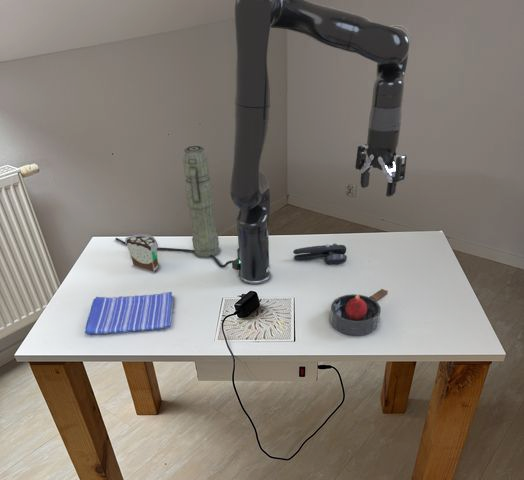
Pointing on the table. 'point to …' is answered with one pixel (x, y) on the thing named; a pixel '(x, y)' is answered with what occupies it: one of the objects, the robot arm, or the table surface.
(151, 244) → the cake slice
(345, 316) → the pan
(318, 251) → the can opener
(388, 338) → the table surface
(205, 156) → the thermos
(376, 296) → the pan handle
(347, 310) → the onion
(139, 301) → the dish towel
